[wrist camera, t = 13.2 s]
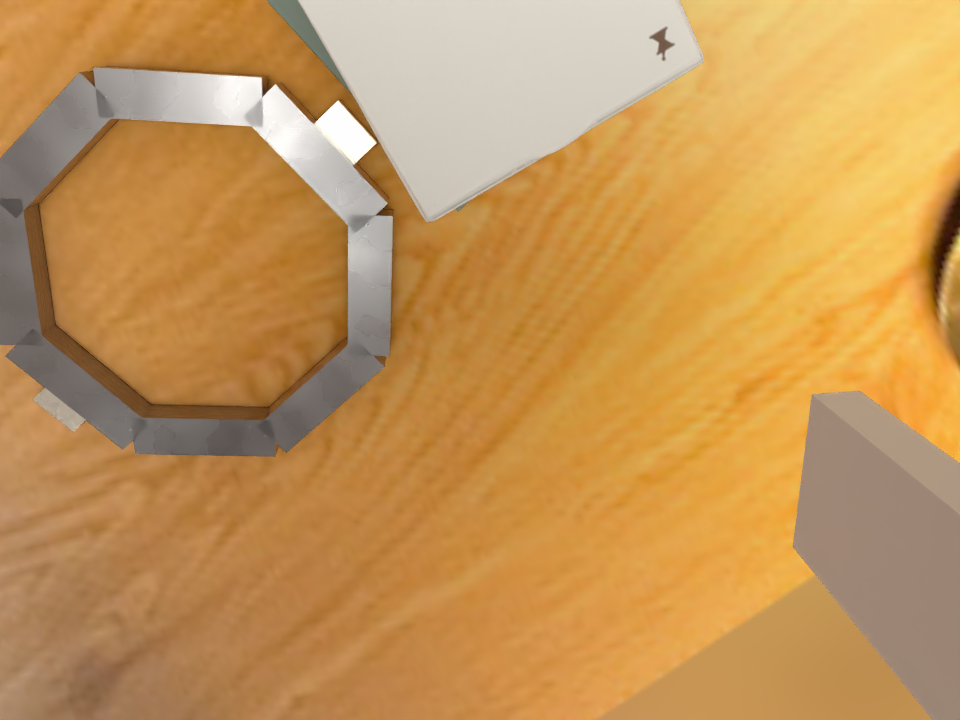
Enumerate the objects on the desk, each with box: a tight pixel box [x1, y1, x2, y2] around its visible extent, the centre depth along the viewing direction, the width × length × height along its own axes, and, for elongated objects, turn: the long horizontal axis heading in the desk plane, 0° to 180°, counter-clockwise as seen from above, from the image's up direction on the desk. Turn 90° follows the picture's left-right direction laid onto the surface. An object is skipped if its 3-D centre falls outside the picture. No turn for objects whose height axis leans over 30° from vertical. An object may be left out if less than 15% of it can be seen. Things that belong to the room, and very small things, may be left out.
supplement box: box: [298, 0, 704, 222], centre depth 27 cm, size 9×9×15 cm
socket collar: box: [0, 66, 393, 457], centre depth 37 cm, size 21×18×2 cm
